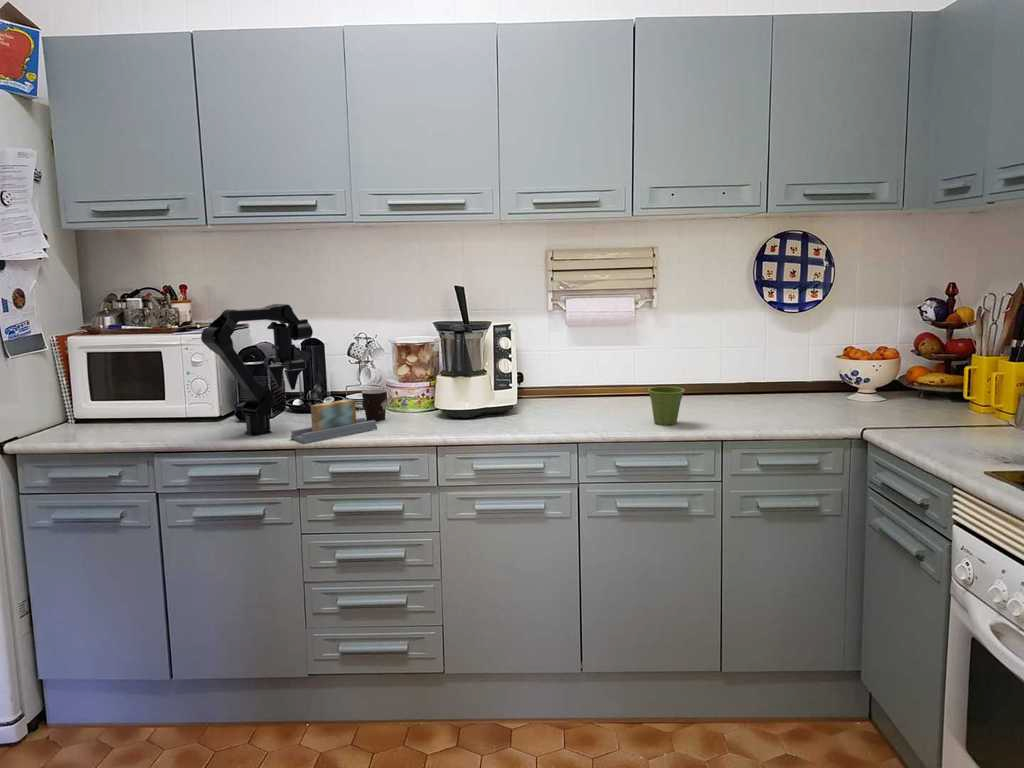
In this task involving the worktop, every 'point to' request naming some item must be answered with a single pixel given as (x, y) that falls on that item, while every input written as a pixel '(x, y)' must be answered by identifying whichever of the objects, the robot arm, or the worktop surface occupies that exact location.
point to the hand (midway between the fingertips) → (286, 388)
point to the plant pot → (665, 404)
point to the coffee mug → (374, 404)
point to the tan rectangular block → (333, 414)
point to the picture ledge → (332, 431)
